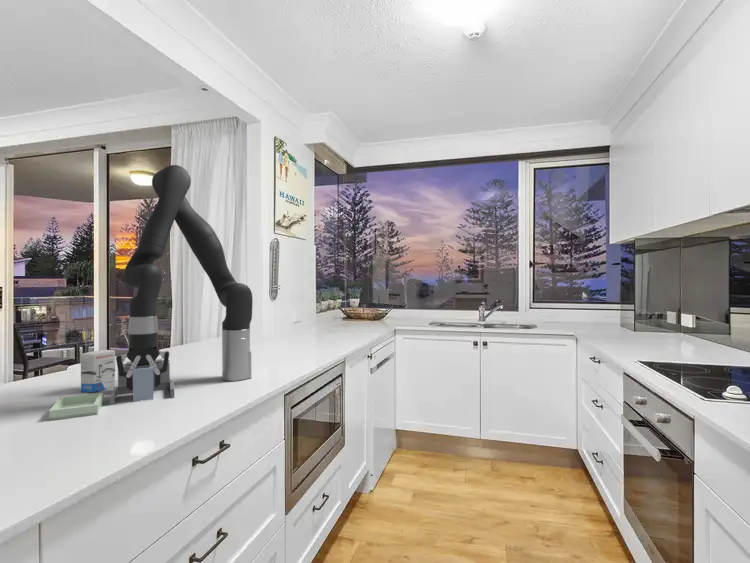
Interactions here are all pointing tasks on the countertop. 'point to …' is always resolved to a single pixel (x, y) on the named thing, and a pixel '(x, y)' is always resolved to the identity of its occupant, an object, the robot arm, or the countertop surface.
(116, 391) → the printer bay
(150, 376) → the box with raised panel
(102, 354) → the ink box
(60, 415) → the tray
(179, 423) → the countertop surface
